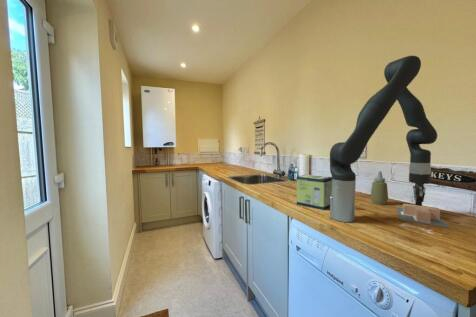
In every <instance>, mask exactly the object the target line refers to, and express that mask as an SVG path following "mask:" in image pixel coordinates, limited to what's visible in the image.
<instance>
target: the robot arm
mask: <svg viewBox="0 0 476 317" xmlns="http://www.w3.org/2000/svg"><path fill="white" fill-rule="evenodd" d="M421 66H422V61H421V59H420V57H419V56H417V55H407V56H404V57H400V58H399V59H396V60H392V61H391V62H388V63H387V64H386V66H385V68H384V70H383V73H384V74H383V75H384V78H385V81H386V82H387V83H386V85H384V86H383V87H382V88H381V89H379V90H378V91H377V92H376V93H374V94H373V95H372V96H371V97H369V99H368V100H367V101H366V103H365V104H364V105H363V107H362V108H361V109H360V111H359V112H358V116H357V118H356V124H355V128H354V130H353V132H352V133H351V134H350V136H349V137H348V138H347V139H346V140H345V142H342V141H341V142H337V143H334V144H333V145H332V146H331V148H330V151H329V171H330V174H331V177H332V193H331V197H330V207H329V218H330V219H331V220H334V221H337V222H341V223H342V222H343V223H351V222H352V223H353V222H355V217H356V215H355V214H356V187H357V186H356V181H357V178H356V176H357V175H356V172H354V171H353V169H352V164H354V163H356V162H357V161H358V160H359V159H360V157H361V156H362V154H363V152H364V150H365V149H366V146H368V143H369V141H370V140H371V138H372V137H373V135H374V134H375V132H376V131H377V129H378V128H379V126H380V125H381V123H382V122H383V121H384V119H385V118H386V116H387V115H388V113H389V112H390V111H391V108H392V107H393V106H394V105H395V103H396V102H397V101H398V104H399V106H400V108H401V110H402V114H403V118H404V121H405V123H406V125H407V127H411V128H412V129H409V131H407V133H406V136H405V139H406V143H407V147H408V149H409V154H410V161H409V162H410V163H409V166H408V168H409V169H408V170H409V171H408V182H409V183H411V184H414V185H413V186H412V189H413V198H414V205H418V206H423V202H424V199H425V195H426V187H425V185H429V184H431V180H432V179H431V178H432V177H431V175H432V174H431V173H432V167H431V166H432V164H431V163H432V162H431V160H432V157H431V156H432V152H431V150H429V149H425V148H422V147H421V145H431V144H434V143H435V142H436V141H437V139H438V133H437V129H435V127H434V126H433V124H432V123H431V122H430V121H429V119H428V118H427V115H426V111H425V109H424V105H423V104H422V102H421V101H420V99H418V98H417V97H416V96H415V94H413V93H412V92H411V91H410V89H409V88H408V86H409V85H410V84H411V83H412V82H413V81H414V79H415V78H416V77H417V76H418V74H419V73H420V70H421Z"/></svg>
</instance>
